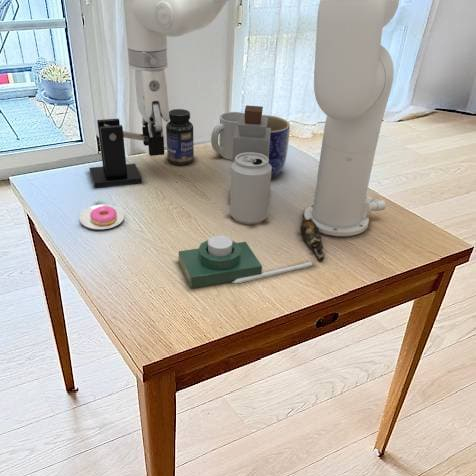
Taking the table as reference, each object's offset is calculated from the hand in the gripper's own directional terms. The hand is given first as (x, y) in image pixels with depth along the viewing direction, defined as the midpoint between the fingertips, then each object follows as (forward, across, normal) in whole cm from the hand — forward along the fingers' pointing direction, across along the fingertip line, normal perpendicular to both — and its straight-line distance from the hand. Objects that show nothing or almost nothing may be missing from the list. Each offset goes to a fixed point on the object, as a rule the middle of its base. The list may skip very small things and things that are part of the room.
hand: (153, 148), depth 113 cm
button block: (+6, -40, -2) cm, 40 cm away
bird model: (+6, -36, -21) cm, 42 cm away
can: (+6, -24, -13) cm, 28 cm away
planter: (+6, -5, -23) cm, 25 cm away
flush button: (+2, -40, -2) cm, 40 cm away
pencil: (+6, -44, -10) cm, 45 cm away
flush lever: (-2, 0, +5) cm, 5 cm away
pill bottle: (+6, +6, -7) cm, 11 cm away
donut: (+6, -17, +14) cm, 23 cm away
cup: (+6, +6, -19) cm, 21 cm away
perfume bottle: (+6, -16, -16) cm, 24 cm away
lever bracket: (+6, 0, +9) cm, 10 cm away
